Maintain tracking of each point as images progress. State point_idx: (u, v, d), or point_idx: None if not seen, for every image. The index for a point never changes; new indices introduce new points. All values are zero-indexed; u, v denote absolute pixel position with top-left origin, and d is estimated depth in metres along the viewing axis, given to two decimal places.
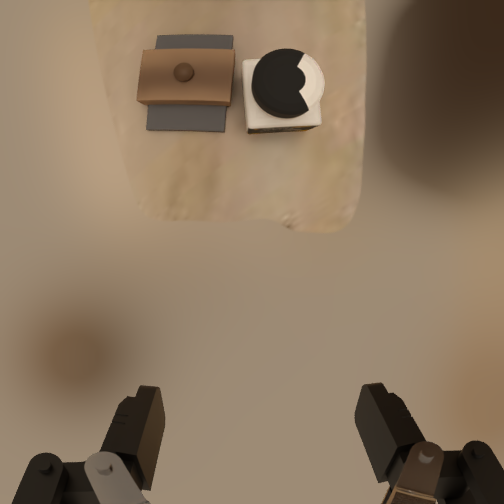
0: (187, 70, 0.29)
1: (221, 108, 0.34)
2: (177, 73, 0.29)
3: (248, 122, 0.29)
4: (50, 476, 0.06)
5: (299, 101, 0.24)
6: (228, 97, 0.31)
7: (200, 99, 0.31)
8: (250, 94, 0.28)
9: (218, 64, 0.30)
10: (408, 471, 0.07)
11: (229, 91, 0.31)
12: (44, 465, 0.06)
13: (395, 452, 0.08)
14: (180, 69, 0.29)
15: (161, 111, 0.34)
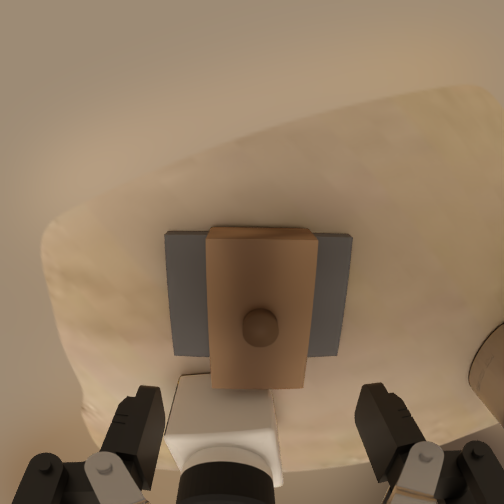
0: (262, 339, 0.18)
1: None
2: (256, 323, 0.17)
3: (171, 437, 0.18)
4: (50, 476, 0.06)
5: None
6: (218, 386, 0.20)
7: (211, 350, 0.19)
8: (214, 442, 0.17)
9: (277, 371, 0.20)
10: (408, 471, 0.07)
11: (228, 387, 0.20)
12: (44, 465, 0.06)
13: (395, 452, 0.08)
14: (264, 327, 0.18)
15: (198, 260, 0.21)
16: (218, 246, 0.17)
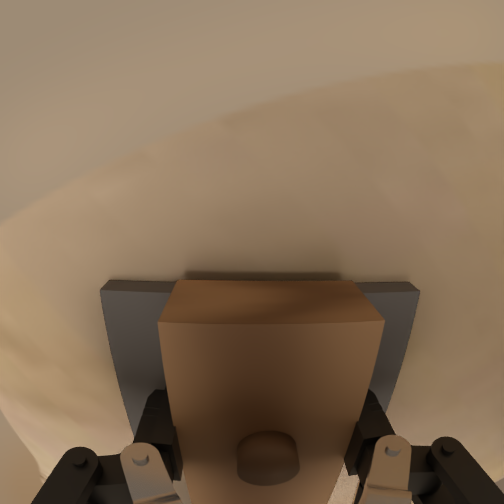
0: (271, 477, 0.09)
1: None
2: (261, 461, 0.08)
3: None
4: (85, 470, 0.07)
5: None
6: None
7: (187, 475, 0.10)
8: None
9: (290, 494, 0.10)
10: (372, 463, 0.07)
11: None
12: (78, 459, 0.07)
13: (362, 444, 0.09)
14: (275, 465, 0.08)
15: None
16: (184, 337, 0.08)
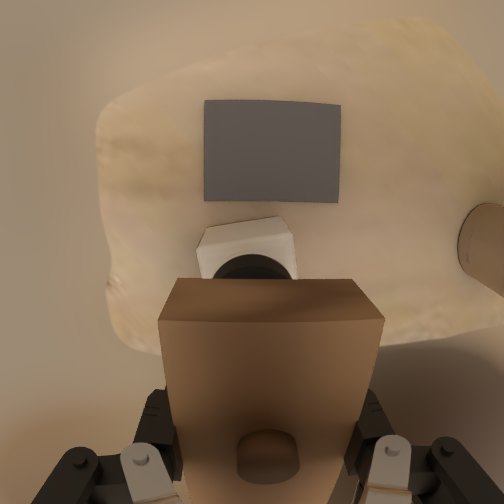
0: (270, 476, 0.09)
1: (234, 195, 0.28)
2: (261, 460, 0.08)
3: (203, 247, 0.23)
4: (85, 470, 0.07)
5: None
6: None
7: (186, 474, 0.10)
8: (241, 247, 0.23)
9: (290, 493, 0.11)
10: (372, 463, 0.07)
11: None
12: (78, 459, 0.07)
13: (362, 444, 0.09)
14: (276, 464, 0.08)
15: (229, 118, 0.26)
16: (184, 335, 0.08)
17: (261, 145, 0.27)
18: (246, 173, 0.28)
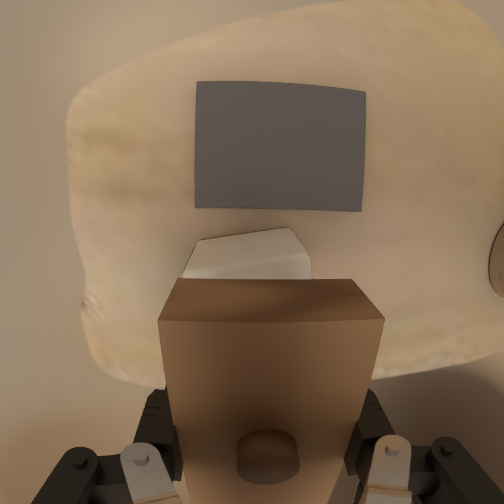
0: (270, 476, 0.09)
1: (233, 201, 0.22)
2: (261, 460, 0.08)
3: (191, 271, 0.18)
4: (85, 470, 0.07)
5: None
6: None
7: (186, 474, 0.10)
8: (241, 273, 0.17)
9: (290, 493, 0.11)
10: (372, 463, 0.07)
11: None
12: (78, 459, 0.07)
13: (362, 444, 0.09)
14: (276, 464, 0.08)
15: (227, 103, 0.20)
16: (184, 335, 0.08)
17: (267, 138, 0.21)
18: (248, 173, 0.22)
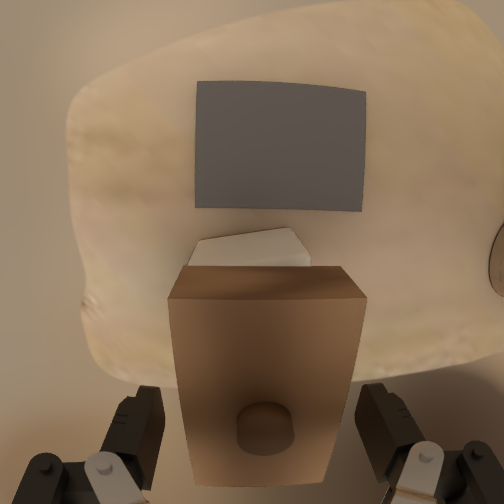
0: (268, 447, 0.10)
1: (233, 201, 0.22)
2: (258, 429, 0.10)
3: None
4: (50, 476, 0.06)
5: None
6: (204, 484, 0.12)
7: (190, 449, 0.11)
8: None
9: (287, 469, 0.12)
10: (408, 471, 0.07)
11: (219, 485, 0.12)
12: (44, 465, 0.06)
13: (395, 452, 0.08)
14: (272, 433, 0.10)
15: (227, 103, 0.20)
16: (191, 311, 0.09)
17: (268, 138, 0.21)
18: (248, 173, 0.22)
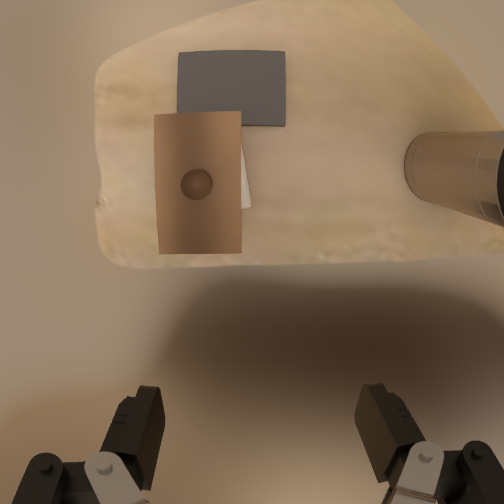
0: (197, 191, 0.21)
1: None
2: (191, 176, 0.21)
3: None
4: (50, 476, 0.06)
5: None
6: (164, 251, 0.23)
7: (157, 212, 0.22)
8: None
9: (215, 232, 0.23)
10: (408, 471, 0.07)
11: (173, 252, 0.23)
12: (44, 465, 0.06)
13: (395, 452, 0.08)
14: (198, 180, 0.21)
15: (196, 64, 0.32)
16: (163, 119, 0.20)
17: (221, 82, 0.32)
18: (209, 104, 0.33)
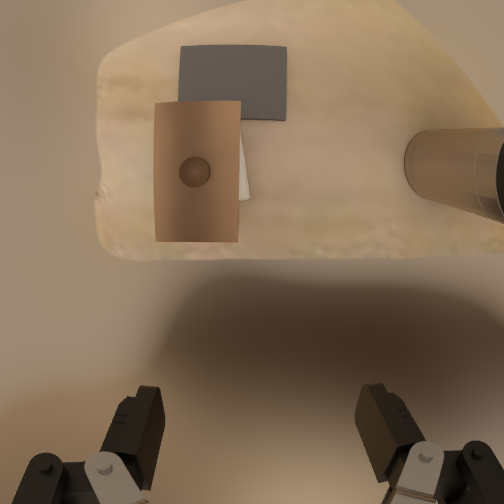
0: (195, 179, 0.21)
1: None
2: (189, 163, 0.21)
3: None
4: (50, 476, 0.06)
5: None
6: (161, 239, 0.23)
7: (155, 199, 0.22)
8: None
9: (212, 221, 0.23)
10: (408, 471, 0.07)
11: (170, 240, 0.23)
12: (44, 465, 0.06)
13: (395, 452, 0.08)
14: (196, 167, 0.21)
15: (198, 58, 0.31)
16: (164, 108, 0.20)
17: (223, 76, 0.32)
18: (210, 97, 0.33)
